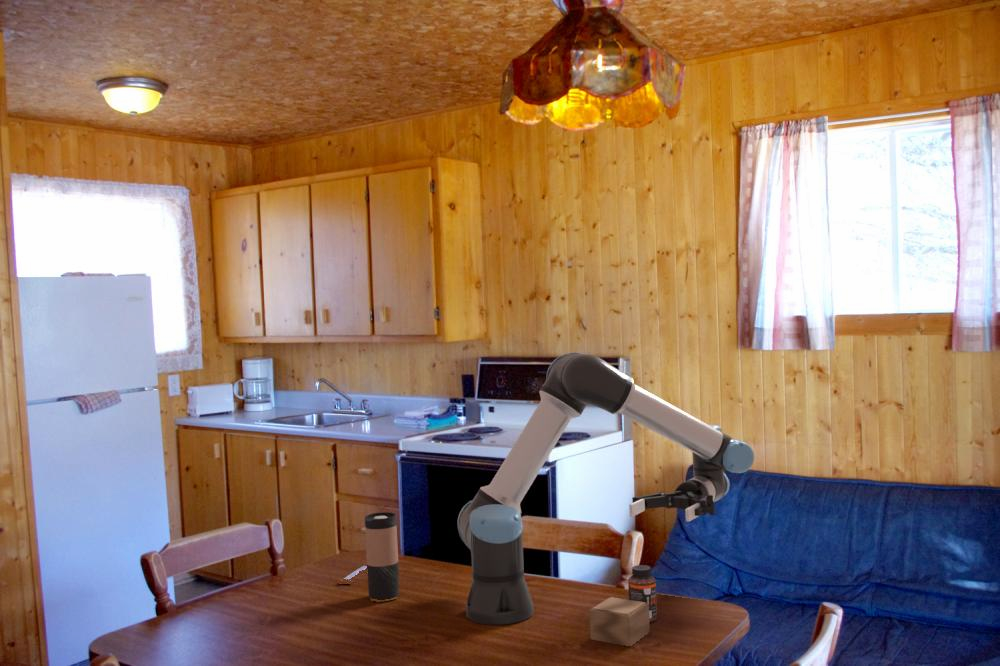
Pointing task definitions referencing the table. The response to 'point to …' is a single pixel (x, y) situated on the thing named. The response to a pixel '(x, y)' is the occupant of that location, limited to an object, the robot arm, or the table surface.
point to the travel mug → (382, 555)
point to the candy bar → (354, 573)
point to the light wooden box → (619, 621)
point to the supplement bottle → (643, 588)
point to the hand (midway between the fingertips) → (658, 512)
